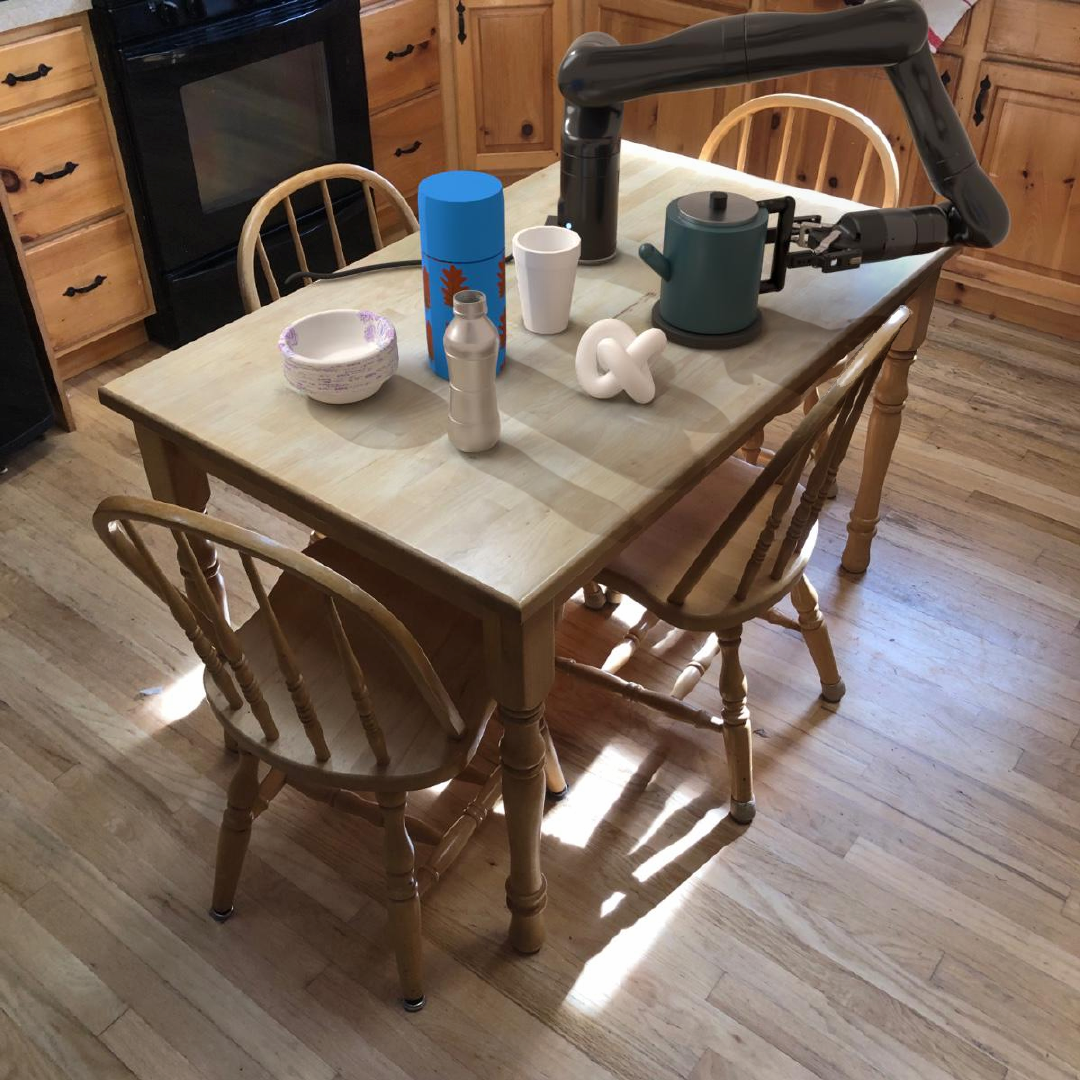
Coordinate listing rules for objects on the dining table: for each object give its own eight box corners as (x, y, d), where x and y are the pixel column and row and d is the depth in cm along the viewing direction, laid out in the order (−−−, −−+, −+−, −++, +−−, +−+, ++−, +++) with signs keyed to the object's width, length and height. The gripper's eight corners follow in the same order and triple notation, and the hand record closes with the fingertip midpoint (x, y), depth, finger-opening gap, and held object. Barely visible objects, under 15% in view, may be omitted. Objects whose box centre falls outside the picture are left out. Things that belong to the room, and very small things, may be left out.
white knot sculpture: (678, 412, 153) (683, 350, 147) (587, 421, 151) (589, 358, 145) (656, 369, 161) (660, 309, 156) (570, 377, 160) (571, 316, 154)
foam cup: (588, 317, 173) (591, 233, 166) (562, 344, 167) (564, 258, 159) (530, 304, 177) (529, 221, 169) (502, 331, 170) (501, 245, 162)
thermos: (496, 386, 158) (492, 205, 142) (418, 378, 159) (406, 198, 144) (513, 348, 166) (512, 173, 151) (440, 340, 168) (430, 167, 152)
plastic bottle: (446, 431, 149) (438, 285, 136) (500, 429, 149) (497, 283, 137) (447, 460, 144) (439, 310, 131) (503, 458, 144) (500, 308, 132)
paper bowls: (265, 380, 159) (257, 327, 154) (364, 348, 166) (359, 296, 161) (319, 430, 149) (312, 375, 144) (422, 393, 156) (418, 339, 151)
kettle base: (646, 345, 167) (647, 334, 166) (655, 294, 179) (656, 285, 178) (761, 353, 165) (762, 343, 164) (762, 302, 177) (763, 292, 176)
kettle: (655, 346, 163) (663, 225, 152) (615, 302, 173) (621, 187, 162) (805, 319, 169) (823, 201, 158) (758, 278, 179) (772, 166, 169)
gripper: (856, 192, 175) (755, 204, 171) (906, 230, 164) (799, 243, 160) (848, 240, 179) (749, 253, 176) (896, 280, 168) (792, 294, 165)
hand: (773, 248), depth 168 cm, fingers open, 8 cm apart
